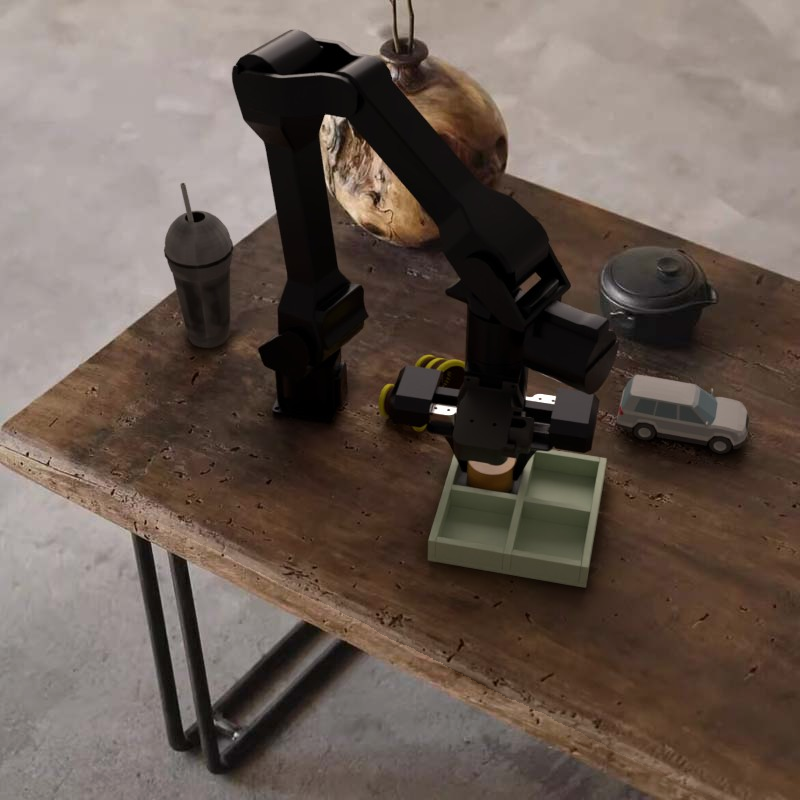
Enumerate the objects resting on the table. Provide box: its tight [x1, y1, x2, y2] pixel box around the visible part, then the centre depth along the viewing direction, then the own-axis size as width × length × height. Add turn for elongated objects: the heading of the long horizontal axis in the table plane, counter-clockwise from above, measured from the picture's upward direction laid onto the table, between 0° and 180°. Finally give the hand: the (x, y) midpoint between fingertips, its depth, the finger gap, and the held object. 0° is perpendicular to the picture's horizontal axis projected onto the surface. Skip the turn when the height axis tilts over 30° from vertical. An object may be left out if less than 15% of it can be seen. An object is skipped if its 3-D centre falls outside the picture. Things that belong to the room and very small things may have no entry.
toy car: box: [615, 374, 750, 454], centre depth 132 cm, size 6×13×5 cm, turn 74°
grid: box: [427, 449, 608, 589], centre depth 124 cm, size 14×14×3 cm
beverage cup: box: [163, 182, 234, 349], centre depth 139 cm, size 7×7×20 cm
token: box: [466, 457, 516, 493], centre depth 126 cm, size 5×5×3 cm
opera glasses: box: [378, 354, 465, 433], centre depth 135 cm, size 10×5×5 cm, turn 141°
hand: (490, 473), depth 127 cm, fingers closed on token, 4 cm apart
